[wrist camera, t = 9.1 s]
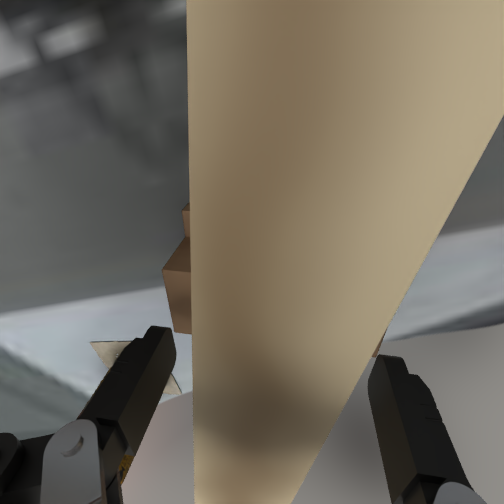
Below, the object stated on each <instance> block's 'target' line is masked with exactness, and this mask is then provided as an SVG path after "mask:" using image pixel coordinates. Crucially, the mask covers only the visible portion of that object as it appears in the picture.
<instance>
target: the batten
mask: <svg viewBox="0 0 504 504" xmlns="http://www.w3.org/2000/svg"><path fill="white" fill-rule="evenodd" d="M187 62H188V123H189V185H190V247H191V309H192V370H193V430H194V491H195V493H194V494H195V504H291V502H292V501H293V499H294V497H295V495H296V493H297V491H298V490H299V488H300V486H301V484H302V482H303V481H304V479H305V477H306V475H307V473H308V471H309V470H310V468H311V466H312V464H313V462H314V460H315V458H316V457H317V455H318V453H319V451H320V449H321V448H322V446H323V444H324V442H325V440H326V439H327V437H328V435H329V433H330V431H331V429H332V428H333V426H334V424H335V422H336V420H337V418H338V417H339V415H340V413H341V411H342V409H343V407H344V406H345V404H346V402H347V400H348V398H349V396H350V395H351V393H352V391H353V389H354V387H355V386H356V384H357V382H358V380H359V378H360V376H361V374H362V373H363V371H364V369H365V367H366V365H367V363H368V362H369V360H370V358H371V356H372V355H373V353H374V351H375V349H376V347H377V345H378V344H379V342H380V340H381V338H382V336H383V334H384V333H385V331H386V329H387V327H388V325H389V323H390V322H391V320H392V318H393V316H394V314H395V313H396V311H397V309H398V307H399V305H400V303H401V302H402V300H403V298H404V296H405V294H406V292H407V291H408V289H409V287H410V285H411V283H412V281H413V280H414V278H415V276H416V274H417V272H418V270H419V269H420V267H421V265H422V263H423V261H424V260H425V258H426V256H427V254H428V252H429V250H430V249H431V247H432V245H433V243H434V241H435V239H436V238H437V236H438V234H439V232H440V230H441V228H442V227H443V225H444V223H445V221H446V219H447V218H448V216H449V214H450V212H451V210H452V208H453V207H454V205H455V203H456V201H457V199H458V197H459V196H460V194H461V192H462V190H463V188H464V186H465V185H466V183H467V181H468V179H469V177H470V176H471V174H472V172H473V170H474V168H475V166H476V165H477V163H478V161H479V159H480V157H481V155H482V154H483V152H484V150H485V148H486V146H487V144H488V143H489V141H490V139H491V137H492V135H493V134H494V132H495V130H496V128H497V126H498V124H499V123H500V121H501V119H502V117H503V115H504V0H187Z"/></svg>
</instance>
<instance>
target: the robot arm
mask: <svg viewBox="0 0 504 504" xmlns="http://www.w3.org/2000/svg"><path fill="white" fill-rule="evenodd" d="M175 361H176V348H175V343H174V339H173V334H172V330H171V328H168V327H160V326H151V327H150V328H149V329H148V330H147V332H146V334H145V335H144V337H143V338H135V339H134V340H133V341H132V342H130V343H129V344H128V345H127V346H126V347H125V348H124V349H123V351H122V352H121V354H120V355H119V357H118V358H117V361H116V362H115V363H114V364H113V366H112V368H111V369H110V372H109V373H108V374H107V375H106V377H105V378H104V380H103V381H102V383H101V384H100V386H99V388H98V389H97V391H96V392H95V394H94V395H93V397H92V398H91V400H90V401H89V403H88V404H87V406H86V408H85V409H84V411H83V412H82V413H81V415H80V416H79V417H78V418H77V419H76V420H75V421H72V422H70V423H68V424H66V425H65V426H63V427H62V428H60V429H59V430H58V431H57V432H56V433H54V434H50V435H46V436H41V437H36V438H31V439H26V440H20V441H19V440H18V439H17V438H16V437H15V436H14V435H13V434H11V433H0V504H123V496H122V488H121V480H120V472H119V465H120V463H121V461H122V459H123V457H124V455H131V456H135V455H136V453H137V451H138V448H139V446H140V444H141V441H142V439H143V437H144V434H145V432H146V430H147V427H148V425H149V423H150V420H151V418H152V416H153V414H154V411H155V409H156V407H157V405H158V402H159V400H160V398H161V395H162V393H163V391H164V388H165V386H166V384H167V382H168V379H169V377H170V375H171V372H172V370H173V368H174V365H175ZM368 395H369V400H370V405H371V410H372V414H373V419H374V423H375V428H376V433H377V438H378V442H379V447H380V452H381V456H382V461H383V466H384V470H385V475H386V479H387V484H388V489H389V493H390V498H391V503H392V504H487V503H486V502H485V501H484V500H483V499H482V498H481V497H480V496H479V495H478V494H477V493H476V492H475V491H474V490H473V488H472V487H471V485H470V484H469V482H468V480H467V478H466V475H465V473H464V471H463V468H462V466H461V463H460V461H459V459H458V457H457V454H456V451H455V449H454V447H453V444H452V442H451V440H450V437H449V435H448V432H447V430H446V427H445V425H444V423H443V422H442V418H441V416H440V413H439V411H438V409H437V408H436V403H435V401H434V398H433V396H432V394H431V391H430V389H429V388H428V387H427V386H426V384H425V383H424V382H423V381H422V379H421V378H420V377H419V376H418V375H414V374H409V373H408V370H407V367H406V364H405V362H404V360H403V359H402V358H401V357H397V356H388V355H380V354H379V355H378V356H377V358H376V361H375V364H374V366H373V369H372V371H371V374H370V376H369V379H368Z"/></svg>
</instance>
